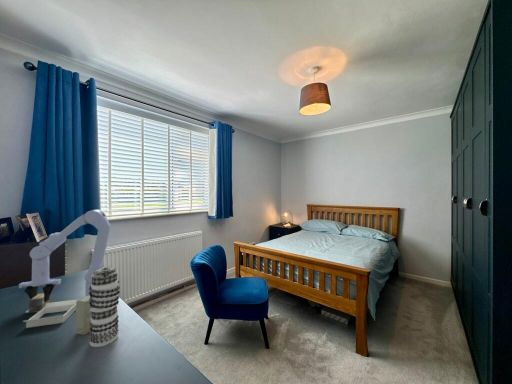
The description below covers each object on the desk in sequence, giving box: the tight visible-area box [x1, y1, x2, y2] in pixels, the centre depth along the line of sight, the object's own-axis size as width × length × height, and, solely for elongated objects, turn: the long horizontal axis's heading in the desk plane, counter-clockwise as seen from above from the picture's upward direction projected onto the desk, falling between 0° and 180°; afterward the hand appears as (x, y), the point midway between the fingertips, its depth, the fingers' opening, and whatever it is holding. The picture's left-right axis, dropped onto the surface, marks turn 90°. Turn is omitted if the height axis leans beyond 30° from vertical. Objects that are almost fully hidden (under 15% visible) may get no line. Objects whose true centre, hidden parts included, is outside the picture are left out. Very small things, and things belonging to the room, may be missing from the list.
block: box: [28, 292, 51, 313], centre depth 98 cm, size 4×7×5 cm, turn 17°
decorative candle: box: [88, 266, 120, 348], centre depth 78 cm, size 9×9×25 cm
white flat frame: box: [22, 298, 80, 329], centre depth 91 cm, size 12×14×4 cm
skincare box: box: [75, 295, 92, 336], centre depth 83 cm, size 6×4×12 cm
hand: (40, 301), depth 99 cm, fingers closed on block, 4 cm apart
